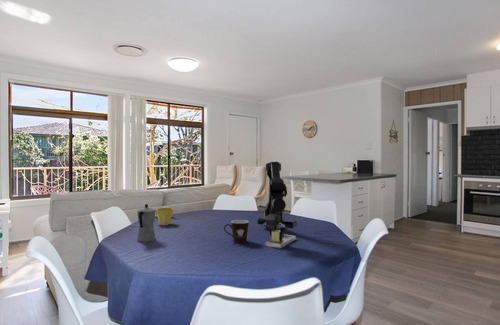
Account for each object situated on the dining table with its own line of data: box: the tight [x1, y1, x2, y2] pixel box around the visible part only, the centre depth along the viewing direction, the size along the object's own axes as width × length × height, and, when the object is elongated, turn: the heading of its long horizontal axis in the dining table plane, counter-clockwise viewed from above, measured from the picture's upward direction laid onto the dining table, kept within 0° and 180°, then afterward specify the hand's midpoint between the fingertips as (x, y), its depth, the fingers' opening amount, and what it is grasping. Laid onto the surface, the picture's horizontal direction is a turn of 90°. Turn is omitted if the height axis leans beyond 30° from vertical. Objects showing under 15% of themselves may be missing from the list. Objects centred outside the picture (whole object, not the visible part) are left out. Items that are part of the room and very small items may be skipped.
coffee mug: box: [223, 219, 249, 244], centre depth 146 cm, size 12×9×10 cm
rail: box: [265, 233, 297, 249], centre depth 144 cm, size 8×18×2 cm, turn 149°
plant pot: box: [155, 207, 174, 226], centre depth 183 cm, size 10×10×10 cm
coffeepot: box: [136, 203, 156, 243], centre depth 147 cm, size 15×9×18 cm, turn 0°
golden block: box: [271, 229, 283, 243], centre depth 140 cm, size 4×4×6 cm
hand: (276, 240), depth 140 cm, fingers closed on golden block, 4 cm apart
